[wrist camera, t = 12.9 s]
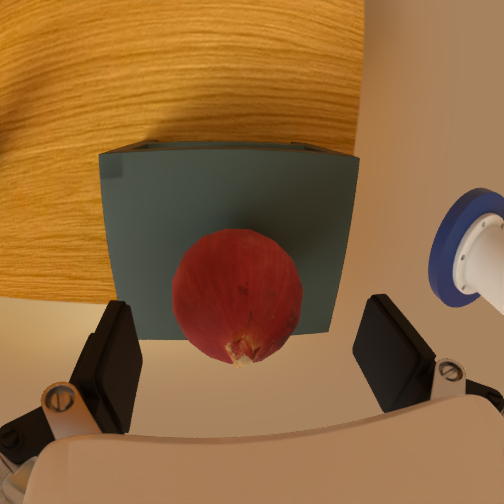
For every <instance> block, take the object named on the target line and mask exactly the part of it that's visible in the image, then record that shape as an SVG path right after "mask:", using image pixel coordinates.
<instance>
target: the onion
mask: <svg viewBox="0 0 504 504" xmlns="http://www.w3.org/2000/svg"><path fill="white" fill-rule="evenodd" d="M302 297H303V286H302V283H301V280H300V278H299V275H298V272H297V269H296V266H295V264H294V262H293V260H292V258H291V257H290V256H289V255H288V254H287V253H286V252H285V251H284V250H283V249H282V248H281V247H280V246H279V245H278V244H277V243H276V242H275V241H273V240H272V239H270V238H268V237H266V236H264V235H262V234H259V233H257V232H255V231H253V230H250V229H224V230H221V231H218V232H215V233H212V234H209V235H206V236H203V237H201V238H200V239H199V240H198V241H197V242H196V243H195V244H194V245H193V246H191V247H190V248H189V249H188V250H187V251H186V252H185V253H184V256H183V258H182V260H181V262H180V264H179V266H178V269H177V271H176V273H175V275H174V278H173V280H172V301H173V313H174V315H175V318H176V320H177V322H178V324H179V326H180V327H181V329H182V331H183V333H184V335H185V337H186V338H187V339H188V340H189V341H190V343H192V344H193V345H194V346H196V347H197V348H198V349H199V350H201V351H202V352H203V353H205V354H206V355H208V356H209V357H211V358H214V359H217V360H220V361H223V362H226V363H229V364H233V365H234V367H244V366H247V365H250V364H251V363H254V362H258V361H262V360H263V359H265V358H267V357H268V356H270V355H271V354H273V353H274V352H275V351H277V350H279V349H280V348H281V347H282V346H283V345H284V344H285V342H286V341H287V339H288V338H289V337H290V335H291V334H292V333H293V331H294V330H295V328H296V327H297V325H298V323H299V321H300V313H301V305H302Z"/></svg>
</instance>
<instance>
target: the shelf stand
mask: <svg viewBox="0 0 504 504" xmlns="http://www.w3.org/2000/svg"><path fill="white" fill-rule="evenodd" d="M359 160H360V158H358V157H355V156H351V155H348V154H344V153H341V152H337V151H334V150H330V149H326V148H323V147H319V146H315V145H311V144H307V143H298V142H291V144H286V143H270V142H247V141H177V142H157V140H155V141H141V142H137V143H134V144H130V145H127V146H124V147H120V148H117V149H114V150H111V151H108V152H105V153H102V154H99V171H100V182H101V194H102V205H103V214H104V222H105V230H106V237H107V244H108V250H109V257H110V262H111V268H112V274H113V279H114V284H115V289H116V294H117V298H118V301H125V302H126V305H130V307H131V311H132V315H133V320H134V324H135V329H136V333H137V337H138V340H147V339H148V340H188V339H187V338H186V337H185V335H184V333H183V331H182V329H181V327H180V326H179V324H178V322H177V320H176V318H175V315H174V313H173V301H172V280H173V278H174V275H175V273H176V271H177V269H178V266H179V264H180V262H181V260H182V258H183V256H184V253H185V252H186V251H187V250H188V249H189V248H190V247H191V246H193V245H194V244H195V243H196V242H197V241H198V240H199V239H200V238H201V237H203V236H206V235H209V234H212V233H215V232H218V231H221V230H224V229H250V230H253V231H255V232H257V233H259V234H262V235H264V236H266V237H268V238H270V239H272V240H273V241H275V242H276V243H277V244H278V245H279V246H280V247H281V248H282V249H283V250H284V251H285V252H286V253H287V254H288V255H289V256H290V257H291V258H292V260H293V262H294V264H295V266H296V269H297V272H298V275H299V278H300V280H301V283H302V286H303V297H302V305H301V313H300V321H299V323H298V325H297V327H296V328H295V330H294V331H293V333H292V334H291V335H302V334H314V333H324V332H328V331H329V327H330V323H331V319H332V314H333V310H334V306H335V301H336V297H337V293H338V288H339V283H340V279H341V274H342V269H343V264H344V259H345V253H346V248H347V243H348V237H349V231H350V225H351V219H352V212H353V206H354V199H355V192H356V184H357V178H358V170H359ZM291 335H290V336H291Z"/></svg>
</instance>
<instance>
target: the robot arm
mask: <svg viewBox="0 0 504 504" xmlns="http://www.w3.org/2000/svg"><path fill="white" fill-rule="evenodd" d="M453 281H454V284H455V286H456V288H457V289H458V290H459V291H460V292H462V293H463V294H468V295H469V294H473V293H476V292H478V293H479V294H480V295H481V296H483V297H484V298H485V299H486V300H487V301H488V302H489V303H491V304H492V305H493V306H494V307H495V308H496V309H497V310H498V311H499V312H501V313H502V314H503V315H504V221H503V219H502V218H501V217H500V216H498V215H496V214H494V213H485V214H483V215H481V216H480V217H479V218H477V219H476V220H475V221H474V222H473V223H472V224H471V225H470V227H469V228H468V230H467V231H466V232H465V234H464V236H463V238H462V240H461V242H460V244H459V246H458V249H457V252H456V255H455V259H454V263H453ZM353 355H354V357H355V359H356V361H357V363H358V364H359V366H360V368H361V370H362V372H363V374H364V376H365V378H366V380H367V382H368V384H369V385H370V387H371V389H372V391H373V393H374V395H375V397H376V399H377V401H378V403H379V405H380V407H381V409H382V411H383V412H384V413H385V414H381V415H378V416H374V417H370V418H365V419H361V420H357V421H352V422H348V423H343V424H338V425H333V426H328V427H322V428H316V429H310V430H304V431H296V432H289V433H280V434H271V435H260V436H246V437H230V438H229V437H227V438H176V437H175V438H174V437H153V436H139V435H124V433H128V432H129V429H130V424H131V418H132V412H133V407H134V402H135V397H136V392H137V387H138V382H139V378H140V373H141V368H142V363H143V360H142V353H141V350H140V345H139V341H138V337H137V333H136V329H135V324H134V320H133V315H132V311H131V307H130V305H126V302H125V301H116V300H111V301H110V302H109V303H108V305H107V307H106V309H105V311H104V313H103V316H102V318H101V320H100V322H99V324H98V326H97V328H96V331H95V333H91V334H90V335H89V337H88V339H87V341H86V343H85V346H84V348H83V350H82V352H81V354H80V357H79V359H78V361H77V364H76V366H75V368H74V371H73V373H72V376H71V378H70V381H69V383H66V382H58V383H54V384H52V385H50V386H49V387H47V389H46V390H45V391H44V392H43V394H42V397H41V405H42V406H41V407H39V408H37V409H35V410H33V411H31V412H29V413H27V414H25V415H23V416H21V417H19V418H17V419H15V420H13V421H11V422H9V423H7V424H5V425H3V426H2V427H1V428H0V504H504V399H503V396H502V395H501V394H500V392H498V391H497V390H495V389H493V388H491V387H488V386H485V385H481V384H479V383H476V382H473V381H470V380H467V379H466V373H465V370H464V368H463V367H462V366H461V365H460V364H459V363H458V362H456V361H454V360H452V359H441V360H439V361H438V362H437V363H436V362H435V360H434V359H435V357H436V355H435V353H434V352H433V351H432V349H431V348H430V347H429V346H428V344H427V343H426V342H425V341H424V339H423V338H422V337H421V336H420V334H419V333H418V332H417V331H416V329H415V328H414V327H413V326H412V325H411V323H410V322H409V321H408V320H407V318H406V317H405V316H404V315H403V314H402V313H401V311H400V310H399V309H398V308H397V306H396V305H395V304H394V303H393V302H392V301H391V299H390V298H389V297H388V296H387V295H386V294H376V295H372V296H371V298H369V299H368V300H367V303H366V306H365V310H364V313H363V317H362V320H361V323H360V326H359V329H358V332H357V336H356V339H355V342H354V345H353Z"/></svg>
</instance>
